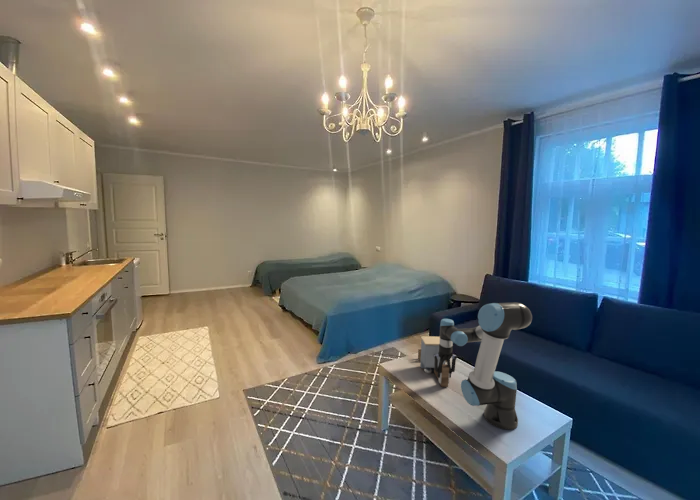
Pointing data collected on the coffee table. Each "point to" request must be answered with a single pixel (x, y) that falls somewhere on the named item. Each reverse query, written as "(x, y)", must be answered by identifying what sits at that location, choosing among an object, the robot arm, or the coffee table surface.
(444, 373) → the wooden block
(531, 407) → the coffee table surface
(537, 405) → the coffee table surface
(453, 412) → the coffee table surface
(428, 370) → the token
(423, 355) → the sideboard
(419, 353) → the stand
